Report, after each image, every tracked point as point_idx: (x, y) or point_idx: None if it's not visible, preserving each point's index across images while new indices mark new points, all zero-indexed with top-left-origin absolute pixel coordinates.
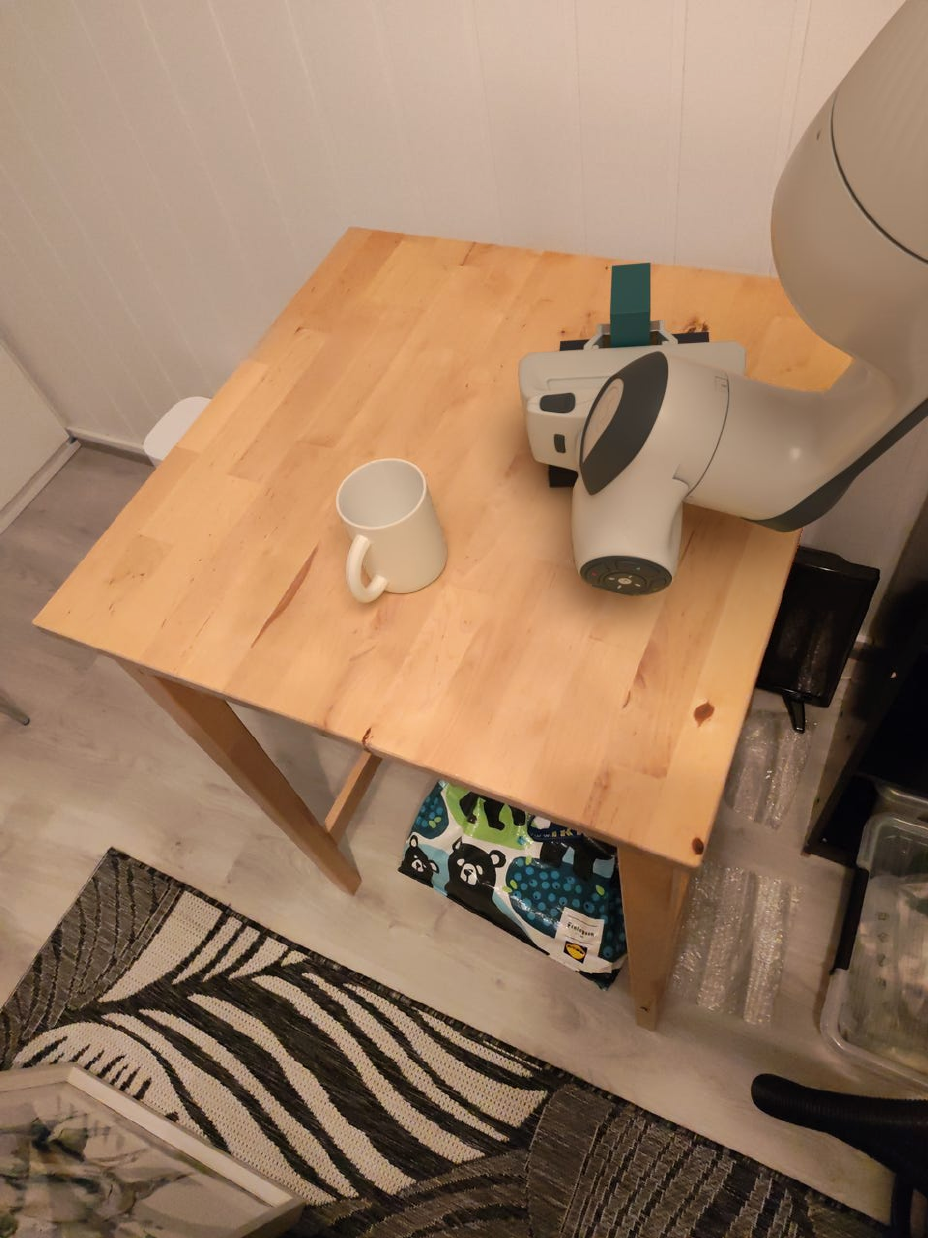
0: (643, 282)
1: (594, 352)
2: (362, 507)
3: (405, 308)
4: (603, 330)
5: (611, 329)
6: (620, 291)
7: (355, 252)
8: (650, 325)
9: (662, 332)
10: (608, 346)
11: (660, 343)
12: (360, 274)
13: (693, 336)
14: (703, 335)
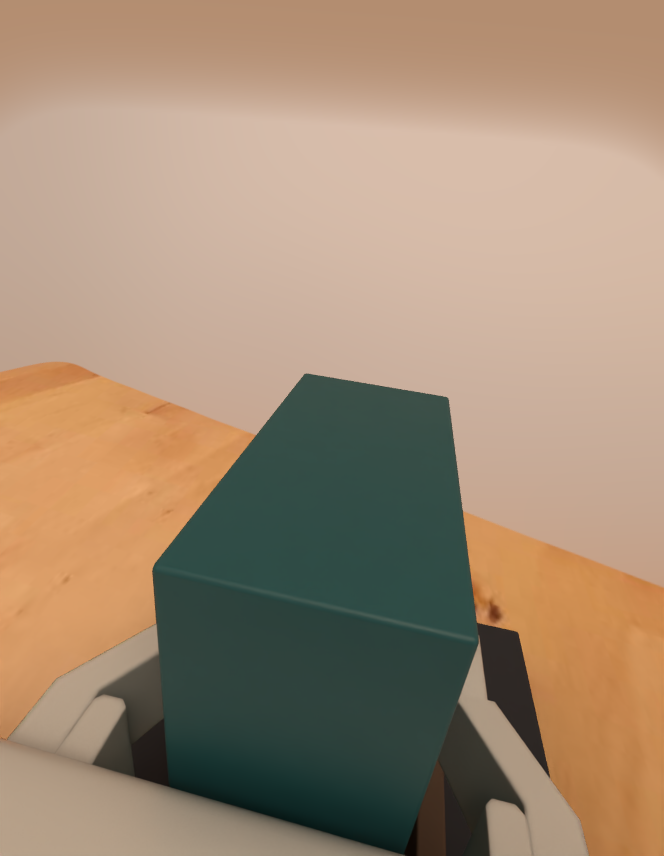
0: (421, 446)
1: (4, 810)
2: None
3: (18, 437)
4: None
5: (165, 674)
6: (298, 453)
7: (38, 370)
8: None
9: (477, 716)
10: None
11: (454, 758)
12: (14, 389)
13: (485, 636)
14: (508, 640)
